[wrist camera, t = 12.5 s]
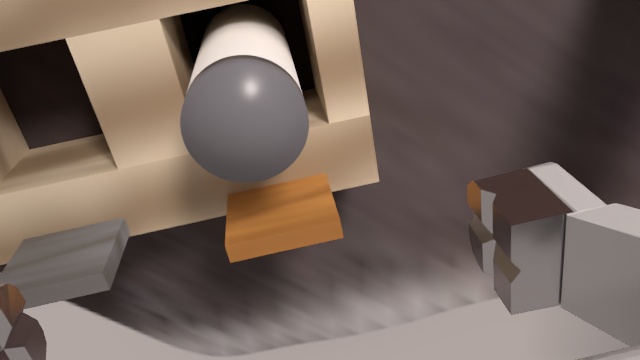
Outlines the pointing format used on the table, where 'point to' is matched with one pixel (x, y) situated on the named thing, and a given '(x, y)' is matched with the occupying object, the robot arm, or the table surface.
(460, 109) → the table surface
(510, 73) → the table surface
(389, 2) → the table surface
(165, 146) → the socket block
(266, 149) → the white grey cylinder
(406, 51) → the table surface
